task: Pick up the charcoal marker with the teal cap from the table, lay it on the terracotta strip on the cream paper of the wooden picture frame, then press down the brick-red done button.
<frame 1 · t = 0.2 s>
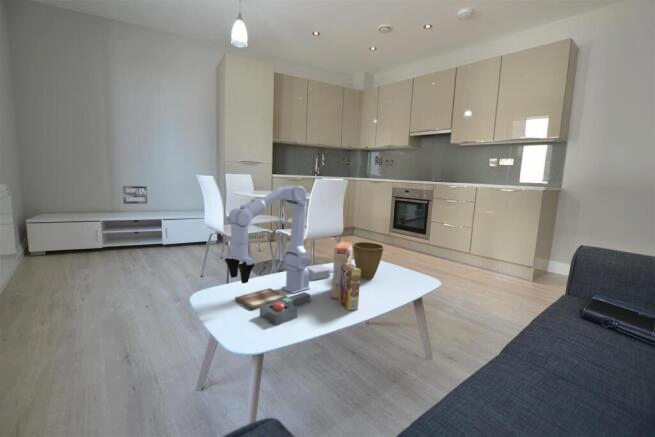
hand: (239, 279, 112), 10 cm above the table, tool pointing down, fingers open, 7 cm apart
cracker box: (341, 293, 130), on the table
done button: (278, 307, 106), point 3 cm above the table, slide at 0.0 cm
plant pot: (366, 277, 154), on the table
marker: (295, 305, 117), on the table
wooden picture frame: (261, 299, 120), on the table
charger: (321, 276, 153), on the table
button housing: (278, 316, 106), on the table
candy box: (348, 305, 118), on the table
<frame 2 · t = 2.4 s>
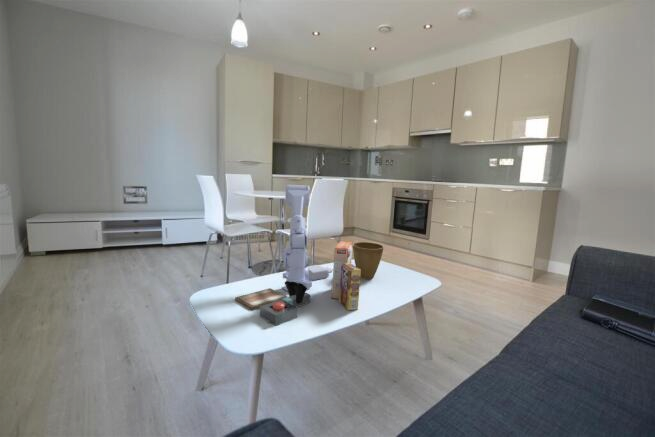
hand: (296, 301, 116), 1 cm above the table, tool pointing down, fingers closed on marker, 3 cm apart
marker: (295, 304, 117), on the table, touching gripper
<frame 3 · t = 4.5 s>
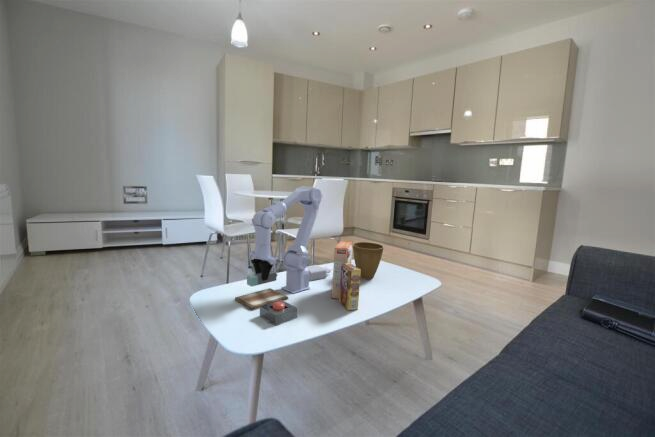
hand: (262, 278, 119), 8 cm above the table, tool pointing down, fingers closed on marker, 3 cm apart
marker: (261, 282, 119), point 7 cm above the table, touching gripper
when the fingers open (4 cm above the table, at t = 5.6 s): marker drops 1 cm, resting on wooden picture frame.
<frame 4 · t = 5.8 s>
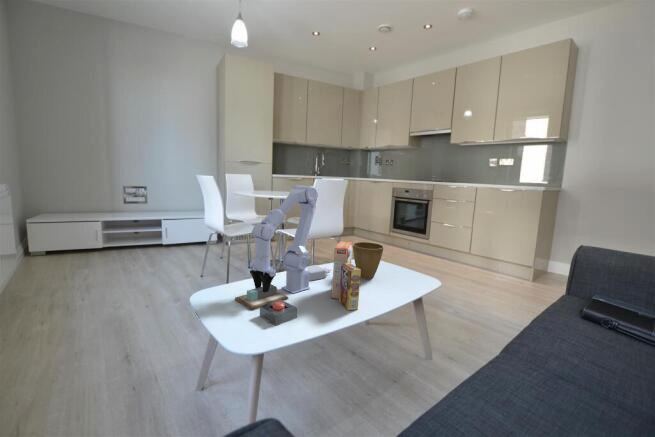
hand: (261, 289, 120), 4 cm above the table, tool pointing down, fingers open, 5 cm apart
marker: (261, 296, 120), point 1 cm above the table, touching wooden picture frame
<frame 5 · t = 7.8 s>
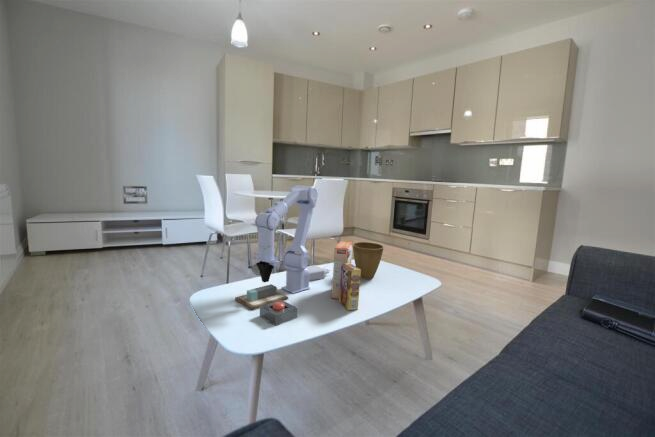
hand: (265, 281, 116), 8 cm above the table, tool pointing down, fingers closed
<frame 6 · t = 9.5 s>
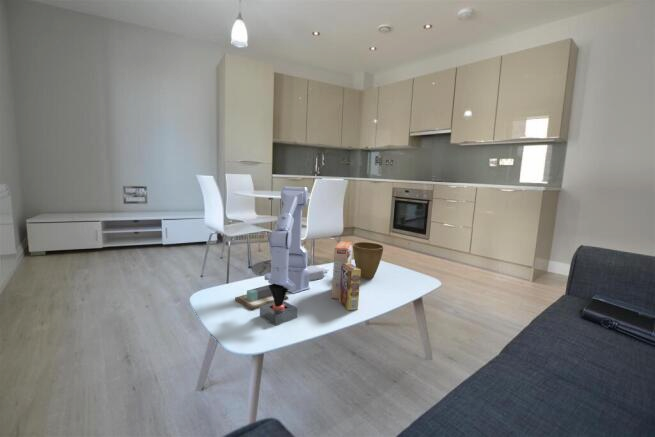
hand: (278, 305, 106), 4 cm above the table, tool pointing down, fingers closed, pressing on done button
done button: (278, 308, 106), point 3 cm above the table, slide at 0.3 cm, touching gripper
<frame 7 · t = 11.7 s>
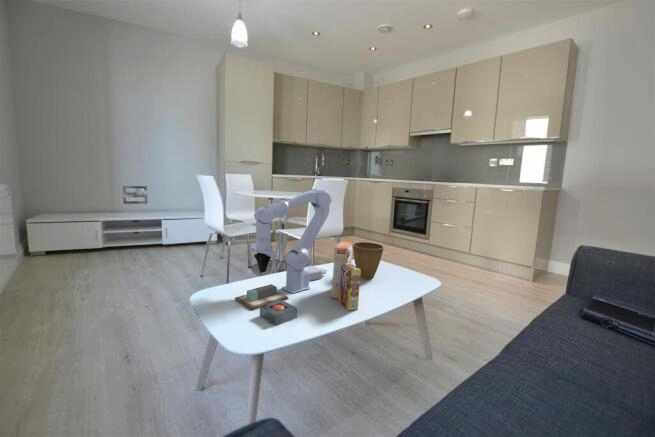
hand: (262, 271, 125), 9 cm above the table, tool pointing down, fingers closed
done button: (278, 310, 106), point 2 cm above the table, slide at 1.0 cm
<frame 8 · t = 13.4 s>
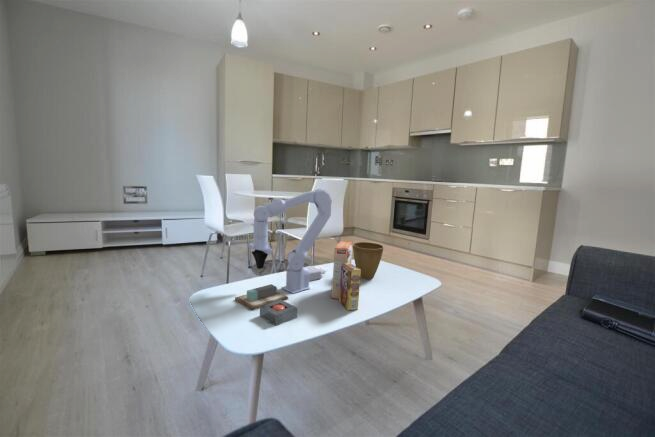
hand: (260, 268, 129), 9 cm above the table, tool pointing down, fingers closed
at the end: marker 0.1 cm off-centre on the wooden picture frame, point 1.3 cm above the wooden picture frame's base; done button slide at 1.0 cm; the gripper is holding nothing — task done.
